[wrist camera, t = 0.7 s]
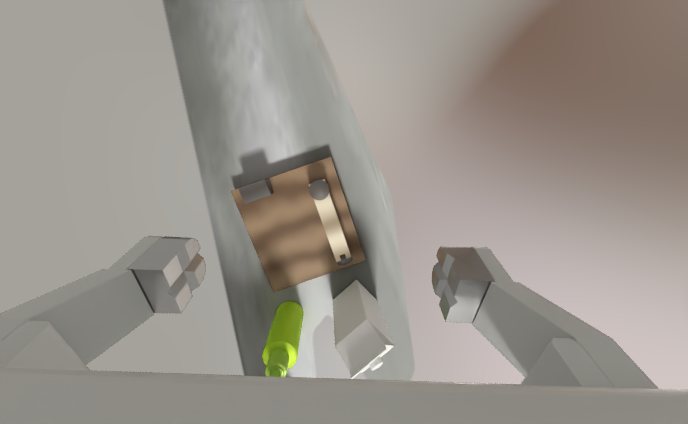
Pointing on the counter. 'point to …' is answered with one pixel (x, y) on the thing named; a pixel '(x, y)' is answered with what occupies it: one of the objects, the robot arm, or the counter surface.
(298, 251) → the wooden tray
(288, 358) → the soap dispenser
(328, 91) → the counter surface
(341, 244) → the folding leg
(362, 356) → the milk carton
